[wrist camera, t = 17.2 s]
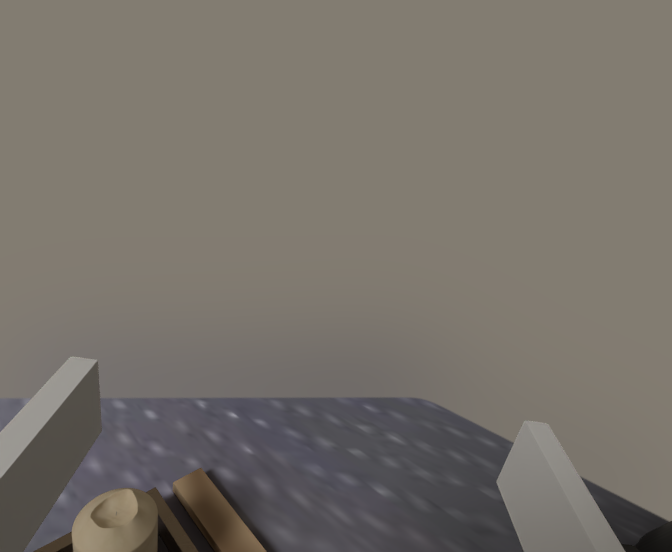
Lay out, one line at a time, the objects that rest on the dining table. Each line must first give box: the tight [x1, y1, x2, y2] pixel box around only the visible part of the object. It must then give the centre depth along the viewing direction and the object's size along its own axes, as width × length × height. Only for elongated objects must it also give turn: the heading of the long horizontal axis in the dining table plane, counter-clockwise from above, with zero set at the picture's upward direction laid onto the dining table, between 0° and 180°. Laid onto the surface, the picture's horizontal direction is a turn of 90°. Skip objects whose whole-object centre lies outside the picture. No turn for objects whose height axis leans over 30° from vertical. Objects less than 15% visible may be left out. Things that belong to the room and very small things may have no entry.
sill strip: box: [173, 468, 266, 552], centre depth 41 cm, size 3×12×1 cm, turn 45°
